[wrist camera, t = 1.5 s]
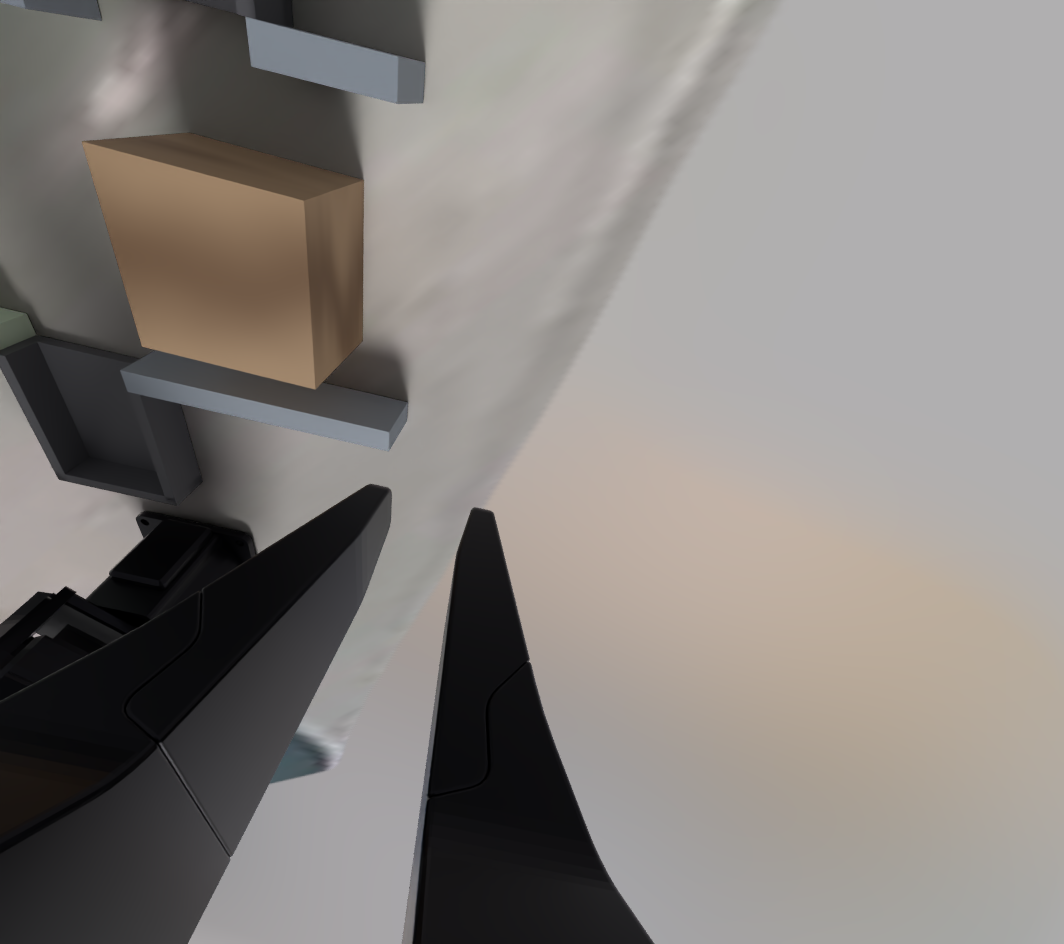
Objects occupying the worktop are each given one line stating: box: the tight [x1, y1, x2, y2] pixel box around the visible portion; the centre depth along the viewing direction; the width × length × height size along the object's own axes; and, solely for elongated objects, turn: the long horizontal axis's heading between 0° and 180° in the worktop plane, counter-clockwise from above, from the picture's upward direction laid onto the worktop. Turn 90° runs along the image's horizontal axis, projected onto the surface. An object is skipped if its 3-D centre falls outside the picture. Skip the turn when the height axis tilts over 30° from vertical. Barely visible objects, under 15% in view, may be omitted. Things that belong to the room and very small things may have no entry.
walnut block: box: [82, 133, 364, 390], centre depth 17 cm, size 6×6×4 cm
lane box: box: [0, 0, 425, 506], centre depth 17 cm, size 27×23×2 cm
